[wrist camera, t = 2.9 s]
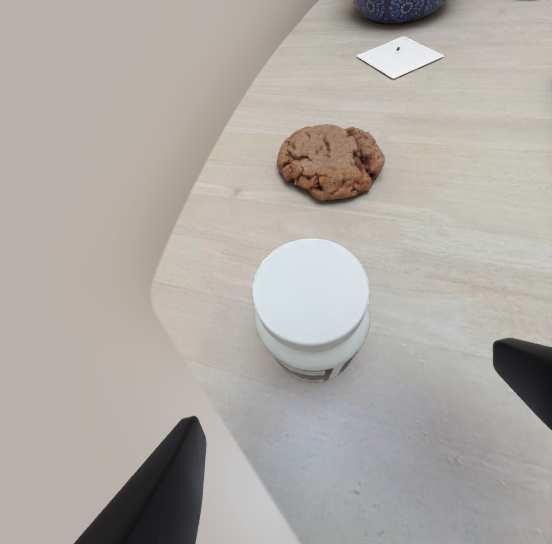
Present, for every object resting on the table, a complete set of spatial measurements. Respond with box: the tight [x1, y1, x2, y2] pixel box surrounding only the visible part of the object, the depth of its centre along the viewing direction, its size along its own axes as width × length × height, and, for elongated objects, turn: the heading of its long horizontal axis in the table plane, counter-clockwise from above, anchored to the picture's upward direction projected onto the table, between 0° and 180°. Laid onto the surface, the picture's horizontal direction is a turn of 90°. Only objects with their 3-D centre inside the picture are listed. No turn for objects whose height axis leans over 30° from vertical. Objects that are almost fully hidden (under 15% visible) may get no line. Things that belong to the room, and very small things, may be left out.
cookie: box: [277, 124, 385, 201], centre depth 26 cm, size 10×11×3 cm
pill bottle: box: [252, 238, 370, 383], centre depth 15 cm, size 6×6×10 cm
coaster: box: [357, 36, 444, 79], centre depth 35 cm, size 8×8×1 cm
